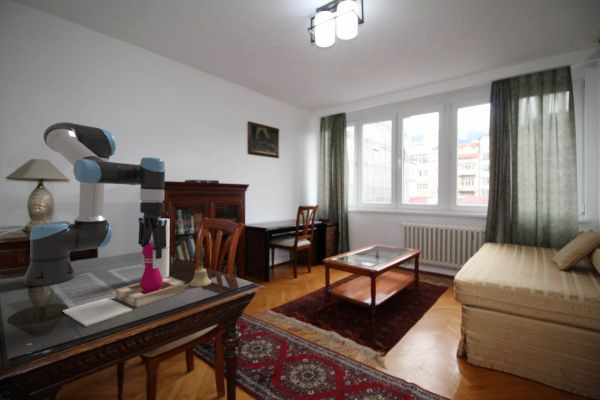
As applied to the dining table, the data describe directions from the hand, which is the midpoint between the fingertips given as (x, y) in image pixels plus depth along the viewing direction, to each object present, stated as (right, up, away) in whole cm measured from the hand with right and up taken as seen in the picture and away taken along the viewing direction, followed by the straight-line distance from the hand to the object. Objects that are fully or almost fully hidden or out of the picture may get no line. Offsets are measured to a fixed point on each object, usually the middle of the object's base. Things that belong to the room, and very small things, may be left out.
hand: (151, 266), depth 96 cm
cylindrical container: (-8, -10, +21) cm, 25 cm away
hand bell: (+13, -11, +14) cm, 21 cm away
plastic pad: (-9, -10, -14) cm, 19 cm away
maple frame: (0, -10, 0) cm, 10 cm away
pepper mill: (0, -11, 0) cm, 11 cm away
